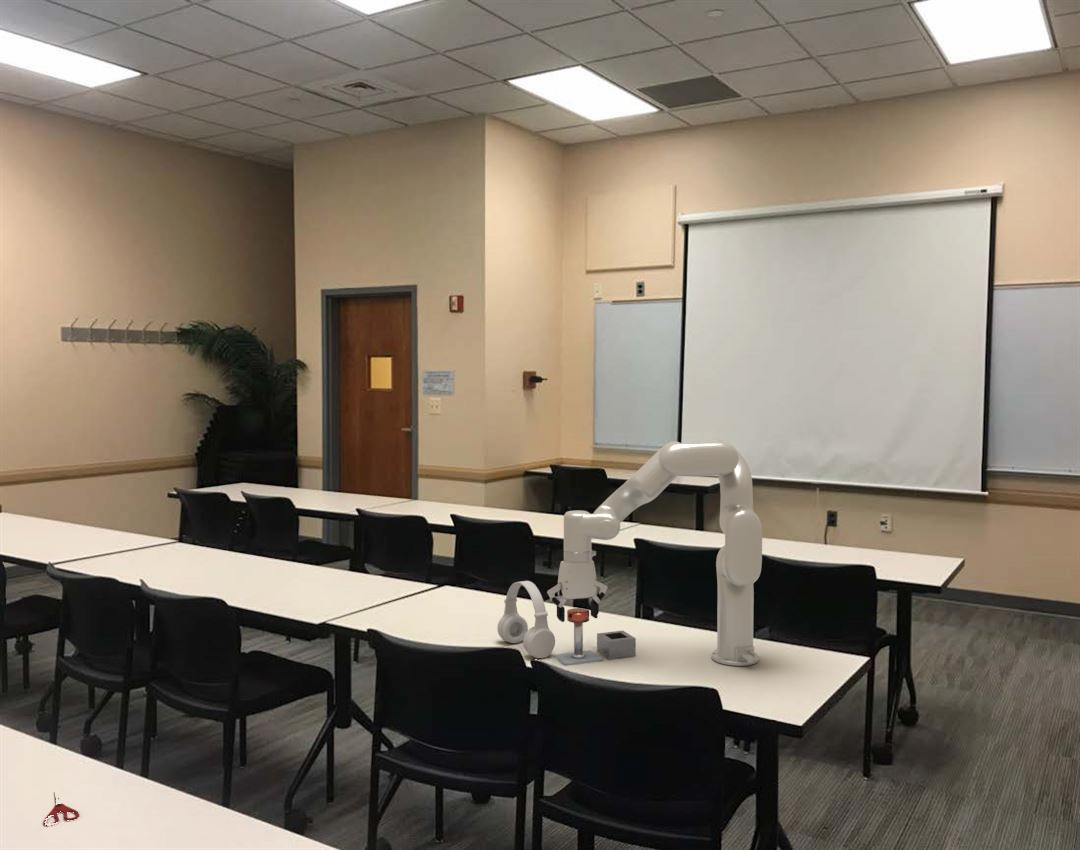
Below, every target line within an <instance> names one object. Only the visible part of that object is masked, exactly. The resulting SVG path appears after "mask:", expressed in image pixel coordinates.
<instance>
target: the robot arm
mask: <svg viewBox="0 0 1080 850" xmlns="http://www.w3.org/2000/svg"><path fill="white" fill-rule="evenodd" d="M707 476H709V477H710V476H717V477H718V481H719V486H720V487H719V488H720V490H719V491H720V504H719V505H720V506H719V507H720V509H719V521H718V522H719V527H720V530H721V532H722V533H723V534H724V539H725V540H724V545H723V546H721V548H720V549H719V551H718V553H717V555H716V561H715V567H716V580H717V608H716V609H717V615H716V616H717V617H716V618H717V622H716V623H717V626H716V627H717V628H716V629H717V632H716V633H717V634H716V635H717V638H716V640H717V645H716V649H714V650H713V651H712V652H711V653H710V655H711V659H712V660H713V661H714V662H715V663H717V664H723V665H726V666H727V665H728V666H731V667H732V666H734V667H746V666H752V665H755V664H757V663H758V662H759V661H760V656H759V654H758V653H756V652H755V646H754V605H755V604H754V599H755V598H754V595H755V592H754V590H755V589H754V583H755V582H756V581H758V579H759V577H760V576H761V573H762V563H763V528H762V527H763V526H762V522H761V519H760V517H759V516H758V515H757V514H756V512H755V511H754V499H753V498H754V494H753V489H754V488H753V477H752V472H751V469H750V467H749V464H748V462H747V461H746V459H745V458H744V457H743V455H742V454H741V452H739V451H738V450H737V449H736V447H734V445H732V444H731V443H729V442H726V441H724V440H721V439H711V440H709V441H706V442H705V443H682V442H679V441H676V440H675V441H668V442H667V443H666V444H664V445H663V446H662V447H661V448H660V449H659V450H658V451H656V452H655V453H654V454H653V455H652V457H650V458H649V459H648V460H647V461H646V462H645V463H644V464H643V465H642V466H641V467H640V468H638V470H637V471H636V472H635V473H634V474H632V476H630V477H629V478H628V479H627V480H626V481H625V482H624V483H623V484H622V485H621V486H620V487H618V488H617V489H616V490H615V491H614V492H612V494H611V495H609V496H608V497H607V498H606V499H605V501H603V502H602V504H600V505H599V506H598V507H597V508H596V509H595V510H594V511H593V513H590V512H589V511H587V510H580V509H579V510H569V511H566V512H565V513H564V515H563V560H562V561H560V564H559V569H558V576H557V577H558V578H557V584H556V585H554V586H553V587H551V588H550V589H548V590H547V592H546V593H547V595H548V596H549V599H550V601H551V602H552V603H553V604H554V605H555V606H556V619H558V621H560V622H561V623H565V621H566V618H565V617H566V614H565V613H566V609H565V607H564V605H565V603H566V602H567V601H571V600H582V599H591V601H590V616H591V617H592V618H594V619H598V615H599V613H600V612H599V609H600V608H599V604H600V603H601V600H603V598H604V597H605V594H606V593H607V590H608V586H607V584H604V583H601V582H600V581H597V573H596V566H595V561H594V560H593V557H594V556H595V557H596V555H597V551H596V550H593V549H592V539H593V540H602V541H610V540H612V539H615V538H616V537H617V536H619V533H620V531H621V523H622V522H624V520H625V519H626V518H627V517H628V516H629V515H630V514H631V513H632V512H634V511H635V510H636V509H638V508H639V507H641V506H644V505H646V504H648V503H650V502H652V501H653V500H655V499H656V498H657V497H658V496H659V495H660V494H661V493H662V492H663V491H664V490H665V489H666V488H667V487H668V486H669V485H670V484H671V483H672V482H673V481H674V480H676V478H678V477H707ZM598 588H600V590H599V591H598ZM556 593H557V595H558V597H557V596H555V594H556Z"/></svg>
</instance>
